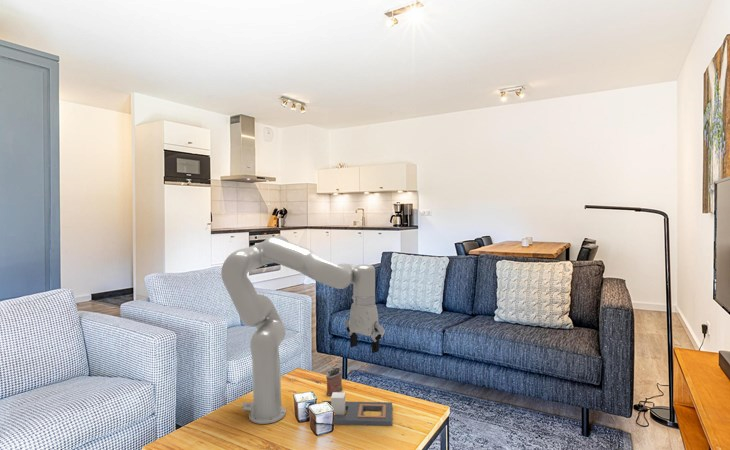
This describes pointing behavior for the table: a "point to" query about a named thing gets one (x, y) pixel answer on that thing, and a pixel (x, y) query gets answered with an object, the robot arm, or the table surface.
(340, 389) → the reddish brown rectangular container
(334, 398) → the peg
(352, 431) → the table surface
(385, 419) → the dark grey slotted board
